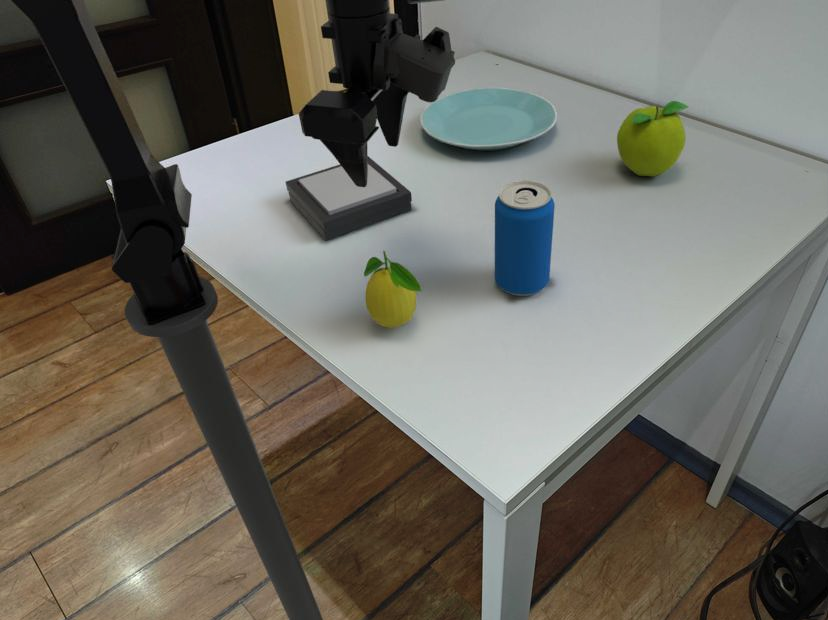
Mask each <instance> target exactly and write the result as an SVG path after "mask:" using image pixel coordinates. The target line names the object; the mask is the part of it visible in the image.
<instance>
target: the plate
mask: <svg viewBox="0 0 828 620" xmlns="http://www.w3.org/2000/svg"><path fill="white" fill-rule="evenodd" d="M557 120H558V112H557V109H556V107H555V106H554V105H553V104H552V102H550V101H549V100H548V99H546V98H544V97H543V96H541V95H537V94H535V93H532V92H529V91H525V90H521V89H516V88H509V87H490V86H489V87H477V88H469V89H464V90H459V91H456V92H455V91H454V92H452V93H449V94H446V95H444V96H441V97H438V98H437V100H436V101H435V102H429V103H428V105H426V106H425V107H424V108H423V110H422V112H421V114H420V116H419V123H420V127H421V128H422V129H423V131H424V132H425V133H426V134H427V135H428V136H430V137H432V138H433V139H435V140H437V141H439V142H441V143H444V144H447V145H451V146H454V147H459V148H462V149H467V150H473V151H499V150H504V149H510V148H513V147H516V146H518V145H521V144H523V143H526V142H529V141H532V140H535V139H537V138H540V137H542V136H543V135H545V134H546V133H549V131H550V130H551V129H552V128H553V127H554V126H555V124H556V122H557Z"/></svg>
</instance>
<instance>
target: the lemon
mask: <svg viewBox="0 0 828 620" xmlns="http://www.w3.org/2000/svg"><path fill="white" fill-rule="evenodd" d="M386 253H387V252H386V250H382V254H383V258H384V259H383V260H384V262H383V260H381V259H380V258H378V257H377V256H372V257H371V258H369V259H368V261H367V262H366V265H365V268H364V271H363V276H364V277H367V276H369V275H370V277H369V279H368V281H367V284H366V288H365V294H364V302H365V307H366V310H367V312H368V314H369V317H371V319H372V320H373V321H374V322H375V323H377V324H378V325H380V326H382V327H384V328H398V327H401V326H404V325H406V324H407V323H408V322H409V321H410V320H411V319H412V318H413V316H414V313H415V312H416V308H417V293H416V292H423V289H422V287H421V284H420V282H419V280H418V279H417V278H416V276H415V275H414V274H413V273H412V272H411V271H410V270H409V269H408V268H407V267H405V266H403V265H402V264H400V263H398V262H394V261H391V260H390V259H389V258H388V257H387V254H386ZM388 263H389V264H388ZM383 265H384V267H382V266H383ZM388 265H389V266H388Z"/></svg>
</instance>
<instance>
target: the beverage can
mask: <svg viewBox="0 0 828 620" xmlns="http://www.w3.org/2000/svg"><path fill="white" fill-rule="evenodd" d="M555 205H556V204H555V201H554V199H553V197H552V192H551V189H550V187H548V186H546V185H545V184H543V183H540V182H539V181H533V180H516V181H512V182H509V183H506V184H505V185H503V186H501V188H500V190H499V192H498V196H497V197H496V199H495V202H494V282H495V284H496V285H497V286H498V288H499V289H500V290H503V291H504V292H506V293H508V294H510V295H513V296H517V297H527V296H531V295H535V294H537V293H539V292H541V291H543V290H544V289H545V288H546V287H547V286H548V284H549V282H550V276H551V273H550V272H551V263H552V262H551V261H552V246H553V235H554V234H553V233H554V221H555V220H554V219H555Z"/></svg>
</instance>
